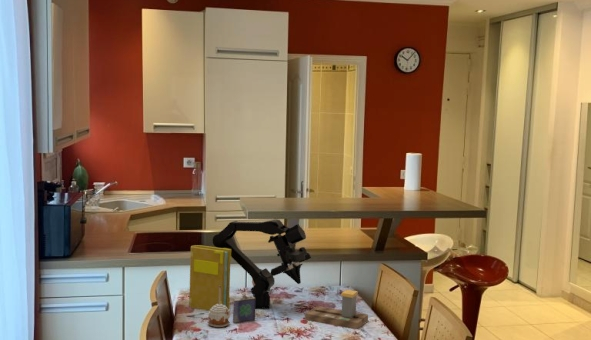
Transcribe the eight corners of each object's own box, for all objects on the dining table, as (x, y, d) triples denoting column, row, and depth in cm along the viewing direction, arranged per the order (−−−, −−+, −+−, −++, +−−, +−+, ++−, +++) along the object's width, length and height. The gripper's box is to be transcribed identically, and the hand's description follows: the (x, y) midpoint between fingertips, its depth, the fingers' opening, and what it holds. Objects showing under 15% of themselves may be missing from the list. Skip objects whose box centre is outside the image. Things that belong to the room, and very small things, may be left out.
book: (229, 309, 239) (231, 249, 237) (220, 313, 232) (222, 251, 231) (195, 302, 246) (196, 244, 244) (185, 306, 240) (187, 247, 238)
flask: (234, 323, 220) (235, 296, 220) (231, 321, 223) (232, 294, 222) (256, 320, 225) (257, 293, 224) (252, 318, 227) (253, 291, 227)
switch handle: (340, 320, 225) (341, 292, 224) (345, 316, 230) (346, 289, 230) (351, 322, 223) (352, 294, 223) (356, 318, 228) (357, 291, 228)
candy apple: (230, 327, 216) (232, 288, 215) (210, 328, 213) (211, 288, 213) (227, 321, 223) (228, 282, 222) (207, 322, 221) (208, 283, 220)
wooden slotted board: (304, 319, 228) (305, 312, 228) (316, 311, 239) (317, 305, 239) (357, 329, 219) (357, 322, 219) (367, 320, 230) (368, 314, 229)
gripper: (279, 251, 227) (295, 288, 225) (311, 236, 240) (326, 271, 238) (263, 257, 235) (278, 293, 233) (295, 243, 248) (310, 276, 246)
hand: (299, 283), depth 238 cm, fingers closed
